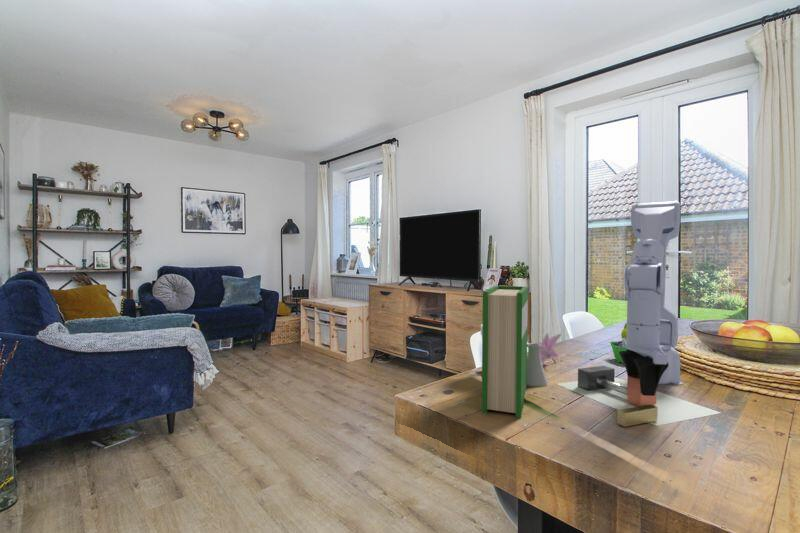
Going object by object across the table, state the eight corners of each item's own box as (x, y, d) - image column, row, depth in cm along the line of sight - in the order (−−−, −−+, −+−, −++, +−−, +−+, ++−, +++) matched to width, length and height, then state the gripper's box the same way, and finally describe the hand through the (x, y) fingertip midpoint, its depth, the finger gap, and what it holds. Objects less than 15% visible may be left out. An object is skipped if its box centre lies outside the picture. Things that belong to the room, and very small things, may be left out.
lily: (529, 363, 121) (517, 337, 118) (569, 351, 117) (557, 323, 115) (535, 388, 109) (521, 359, 107) (578, 375, 106) (565, 345, 104)
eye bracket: (603, 383, 95) (603, 365, 95) (614, 387, 92) (614, 369, 92) (577, 386, 92) (578, 368, 92) (587, 390, 90) (588, 372, 90)
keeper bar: (649, 417, 74) (649, 404, 74) (657, 420, 73) (657, 407, 73) (617, 423, 72) (617, 410, 72) (624, 426, 70) (624, 413, 70)
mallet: (591, 380, 96) (592, 358, 96) (656, 404, 81) (656, 377, 81) (577, 382, 95) (577, 360, 95) (640, 406, 79) (640, 380, 79)
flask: (552, 392, 92) (552, 348, 92) (519, 390, 93) (519, 347, 93) (547, 382, 99) (547, 342, 99) (516, 380, 100) (517, 340, 100)
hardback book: (520, 418, 77) (522, 293, 76) (481, 413, 79) (482, 291, 79) (526, 390, 93) (527, 286, 93) (494, 386, 96) (495, 285, 95)
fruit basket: (614, 363, 117) (615, 324, 117) (608, 356, 125) (609, 320, 125) (659, 366, 114) (660, 327, 113) (650, 359, 122) (650, 322, 122)
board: (612, 380, 101) (612, 376, 101) (721, 418, 77) (721, 412, 77) (556, 388, 95) (556, 383, 95) (656, 431, 71) (656, 425, 71)
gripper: (685, 330, 74) (683, 404, 74) (646, 318, 88) (645, 380, 88) (644, 329, 74) (642, 402, 75) (612, 318, 89) (611, 379, 89)
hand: (641, 390), depth 82 cm, fingers closed on mallet, 5 cm apart
